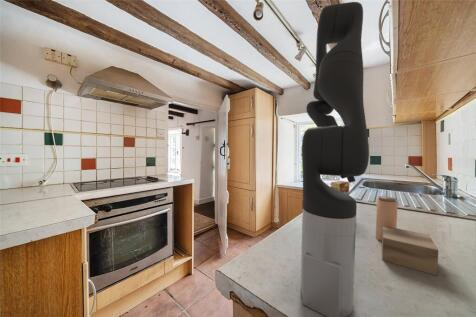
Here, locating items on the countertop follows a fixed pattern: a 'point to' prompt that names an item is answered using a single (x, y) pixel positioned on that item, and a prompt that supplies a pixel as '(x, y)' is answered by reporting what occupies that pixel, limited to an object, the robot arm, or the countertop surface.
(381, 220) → the canister
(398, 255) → the pedestal
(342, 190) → the candy box
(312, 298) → the robot arm
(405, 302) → the countertop surface
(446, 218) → the countertop surface
